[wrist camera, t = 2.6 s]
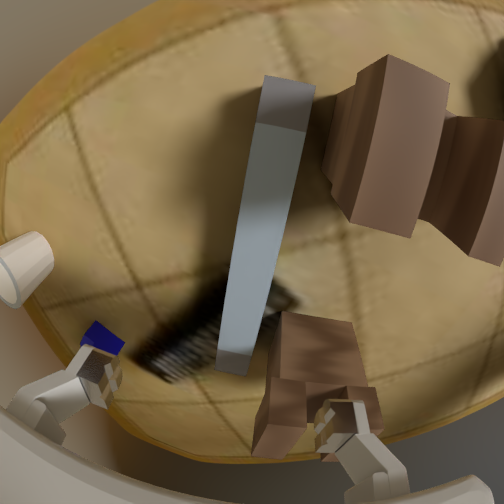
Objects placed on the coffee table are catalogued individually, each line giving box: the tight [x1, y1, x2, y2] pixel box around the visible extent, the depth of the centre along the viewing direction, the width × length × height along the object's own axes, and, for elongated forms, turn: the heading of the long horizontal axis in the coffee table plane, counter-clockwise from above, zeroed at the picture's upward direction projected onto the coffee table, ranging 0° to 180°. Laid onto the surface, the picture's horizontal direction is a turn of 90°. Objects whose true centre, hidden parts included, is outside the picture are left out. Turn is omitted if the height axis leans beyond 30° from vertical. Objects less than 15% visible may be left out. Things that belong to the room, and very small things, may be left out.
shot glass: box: [0, 231, 54, 309], centre depth 23 cm, size 7×7×7 cm
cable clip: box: [80, 320, 125, 356], centre depth 30 cm, size 12×4×6 cm, turn 140°
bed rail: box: [214, 75, 316, 376], centre depth 21 cm, size 3×24×4 cm, turn 170°
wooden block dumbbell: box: [251, 54, 504, 462], centre depth 17 cm, size 8×25×12 cm, turn 170°
